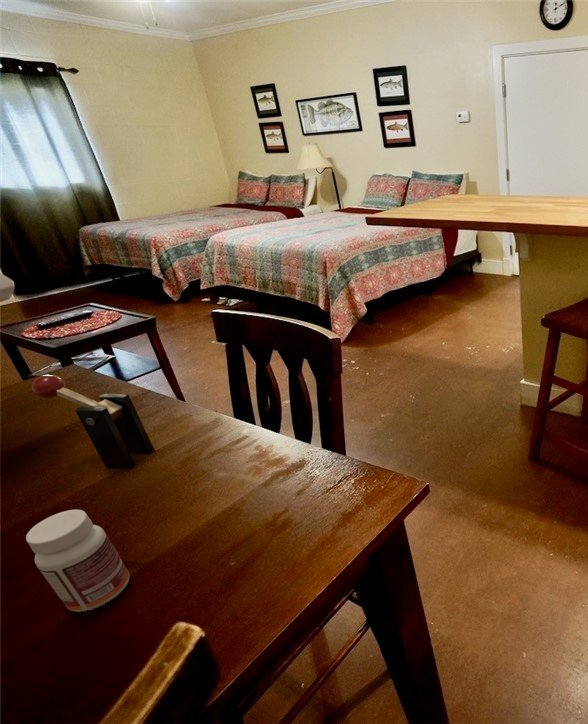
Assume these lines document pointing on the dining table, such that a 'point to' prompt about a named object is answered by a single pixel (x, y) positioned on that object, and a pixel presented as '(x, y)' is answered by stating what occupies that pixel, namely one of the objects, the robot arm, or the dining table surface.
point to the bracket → (116, 432)
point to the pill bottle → (77, 560)
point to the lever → (71, 394)
